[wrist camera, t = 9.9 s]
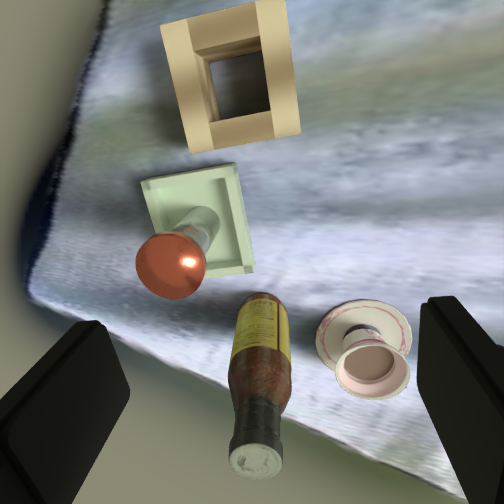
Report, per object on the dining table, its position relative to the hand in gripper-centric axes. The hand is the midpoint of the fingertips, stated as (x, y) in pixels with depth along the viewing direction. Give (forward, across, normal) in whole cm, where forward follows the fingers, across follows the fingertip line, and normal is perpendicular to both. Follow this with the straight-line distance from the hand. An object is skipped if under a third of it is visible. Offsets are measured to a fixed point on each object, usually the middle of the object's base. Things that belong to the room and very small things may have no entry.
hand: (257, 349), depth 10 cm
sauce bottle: (+28, +4, +17) cm, 33 cm away
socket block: (+28, +3, -9) cm, 30 cm away
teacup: (+28, -8, +22) cm, 37 cm away
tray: (+28, +10, +4) cm, 30 cm away
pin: (+27, +10, +4) cm, 29 cm away
